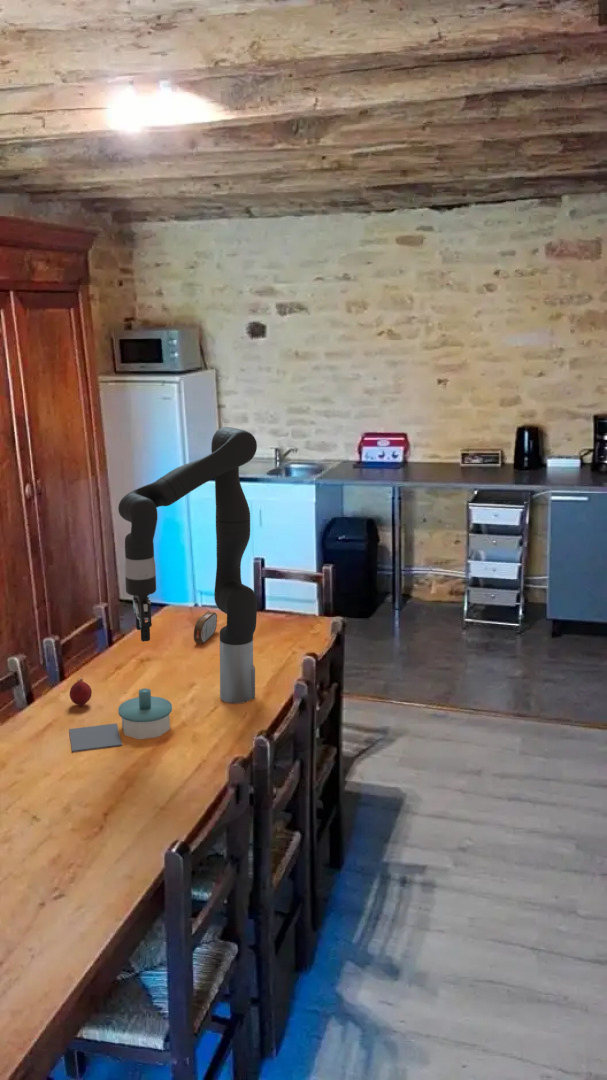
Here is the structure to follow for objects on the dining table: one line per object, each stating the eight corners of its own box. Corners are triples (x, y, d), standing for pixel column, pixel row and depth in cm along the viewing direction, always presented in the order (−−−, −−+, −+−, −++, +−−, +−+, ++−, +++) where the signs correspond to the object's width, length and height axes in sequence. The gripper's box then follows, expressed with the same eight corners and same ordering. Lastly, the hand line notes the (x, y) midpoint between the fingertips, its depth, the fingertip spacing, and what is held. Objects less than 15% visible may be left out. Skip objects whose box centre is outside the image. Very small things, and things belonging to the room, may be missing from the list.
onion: (86, 711, 238) (85, 684, 236) (66, 709, 239) (65, 682, 237) (95, 702, 243) (94, 675, 241) (76, 700, 244) (74, 673, 242)
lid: (167, 696, 236) (166, 677, 235) (176, 718, 223) (175, 698, 222) (115, 702, 232) (114, 683, 231) (121, 725, 219) (120, 705, 218)
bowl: (164, 715, 236) (164, 698, 235) (171, 735, 225) (171, 717, 224) (120, 721, 233) (119, 703, 231) (125, 741, 222) (125, 722, 221)
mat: (116, 724, 231) (116, 723, 230) (122, 745, 220) (122, 744, 219) (69, 730, 227) (69, 729, 227) (72, 752, 216) (72, 750, 216)
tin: (210, 630, 299) (209, 607, 297) (218, 631, 298) (218, 608, 296) (192, 646, 285) (192, 621, 283) (201, 647, 284) (201, 622, 282)
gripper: (160, 580, 215) (162, 643, 219) (151, 564, 228) (153, 624, 232) (129, 583, 213) (132, 646, 217) (121, 567, 226) (124, 627, 230)
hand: (143, 634), depth 225 cm, fingers open, 8 cm apart
